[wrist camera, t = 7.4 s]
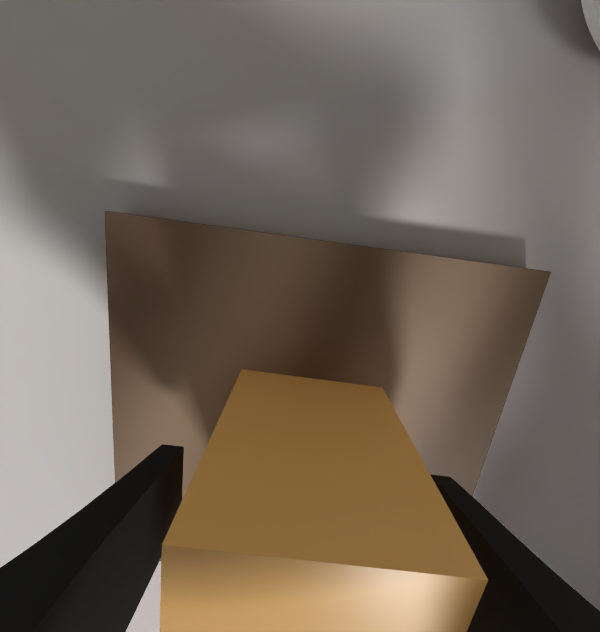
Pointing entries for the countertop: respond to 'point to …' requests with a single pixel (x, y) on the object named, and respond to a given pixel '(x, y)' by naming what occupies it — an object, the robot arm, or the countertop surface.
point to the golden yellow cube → (314, 521)
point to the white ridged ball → (592, 18)
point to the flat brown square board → (307, 334)
